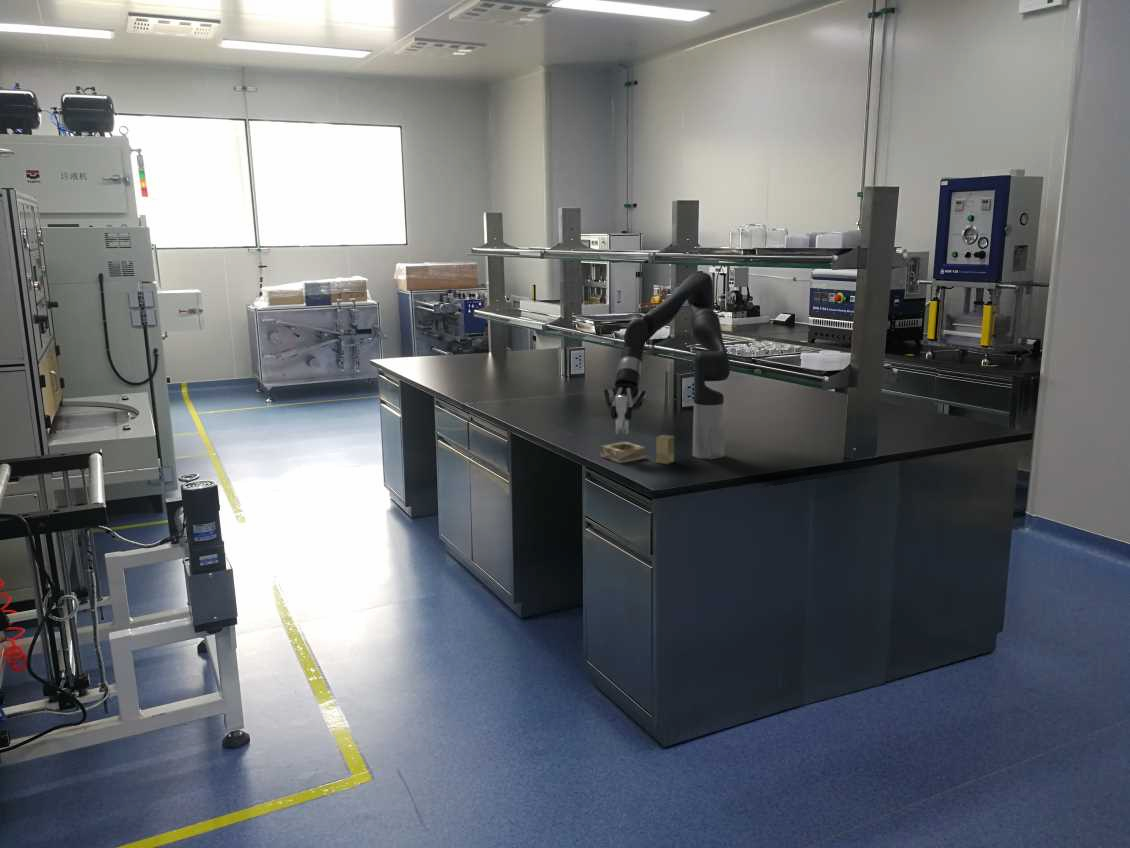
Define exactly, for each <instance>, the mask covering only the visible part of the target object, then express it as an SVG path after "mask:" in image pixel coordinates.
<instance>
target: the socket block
mask: <svg viewBox="0 0 1130 848" xmlns="http://www.w3.org/2000/svg"><path fill="white" fill-rule="evenodd" d="M600 457H601V458H603V457H604V459H607V460H610V461H613V462H616V463H619V464H623V463H628V462H633V461H637V460H642V459H646V447H645V446H643V445H639V444H636V443H632V442H628V441H627V440H626V441H625V440H624V441H620V442H614V443H610V444H609V443H608V444H604V445H600Z"/></svg>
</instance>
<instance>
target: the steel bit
mask: <svg viewBox="0 0 1130 848" xmlns="http://www.w3.org/2000/svg"><path fill="white" fill-rule="evenodd" d="M628 407H629V396H628V395H623V394H621V395H616V419H615V434H616V435H620V436H622V435H624V436H625V435H628V434H629V421H627V418H626V417H627V411H628Z"/></svg>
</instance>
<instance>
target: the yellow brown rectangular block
mask: <svg viewBox="0 0 1130 848" xmlns="http://www.w3.org/2000/svg"><path fill="white" fill-rule="evenodd" d="M655 445H656V446H655V447H656V449H655V450H656V451H655V452H656V454H655V455H656V456H655V463H658V464H664V465H670V464H672V463H673V462H675V459H674V458H675V436H674V435H668V434H667V435H666V434H661V435H659V436H656V444H655Z"/></svg>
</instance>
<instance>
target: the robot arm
mask: <svg viewBox="0 0 1130 848" xmlns="http://www.w3.org/2000/svg"><path fill="white" fill-rule="evenodd" d="M713 285H714V284H713V279H712V276H711V275H710V274H709V273H707V272H702V271H701V272H694V273H692V274H690V275H689V276H688V277H686V278H685V279H684V280H683V281H682V282H681V284H679V286H677V287H676V289H674V291H672V292H671V294H669V296H667V297H666V299H664V300H663V301H662V302H660V303H659V304H658V305H657V306H655V307H653V308H652V309H651V310H649V311H648V312H646V314H644V316H643V318H634V319H632V320H630V321H629V322H628V324H627V326H626V330H625V333H624V334H623V342H624V345H623V347H622V350H621V355H620V359H619V363H618V366H617V370H616V376H615V381H614V382H615V383H614V385H613V387H612V389H603V393H604V397H605V403H606V406H607V409H608V410H609V409H611V410H610V418H611V419H612V421H616V395H621V394H623V395H628V396H629V407H628V411H627V417H626V418H627V421H628V422H629V421H630V422H631V420H632V419H633V415H634V411H635V410H637V411H638V410H640V409H641V407H642V405H643V403H644V401H646V398H647V391H646V390H642V391H641V390H639V385H640V379H641V375H642V374H641V373H642V364H643V363H642V362H643V358H644V355H643V354H644V349H645V345H646V343H647V342H648V341H649V340H650V339H651V338H652V337H653V336H654V335H655V334H656V333H657V332H658V331H660V330H661V329H662V328H664V327H666V326H667V325H668V324H670V323H671V322H672V321H674V319H675V318H676V316H677V315H678V313H679V312H680V309H682V307H683V305H684V304H685V303H686V302H687V303H688V307H689V309H690V312H691V319H690V321H691V323H690V324H691V332H692V336H693V338H694V340H695V341H696V342H697V344H699V345H700V346H701V347H703V348H704V349H705V350H707V351H697V352H695V354H694V358H693V385H694V386H693V387H694V388H693V389H694V390H693V418H692V420H693V422H692V456H693V457H694V458H696V459H697V458H698V459H703V460H715V459H720V458H724V457H725V445H726V442H725V441H726V428H725V426H724V405H725V404H724V402H725V401H724V398H725V396H724V394H723V393H722V392H720V391H717V390H714V389H712V388H710V387H708V386H707V385H706V384H705V382H722V381H726V380H727V379H728V378H729V376H730V372H731V364H730V359H729V356H728V352H727V349H726V346H725V343H724V339H723V334H722V326H721V323H720V319H719V316H718V314H717V313H716V312H715V311H714V286H713ZM612 395H614V399H613V402H611V399H610V398H611V397H612ZM637 396H638V398H637V399H636V401H635V403H634V399H635V398H636V397H637Z"/></svg>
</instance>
